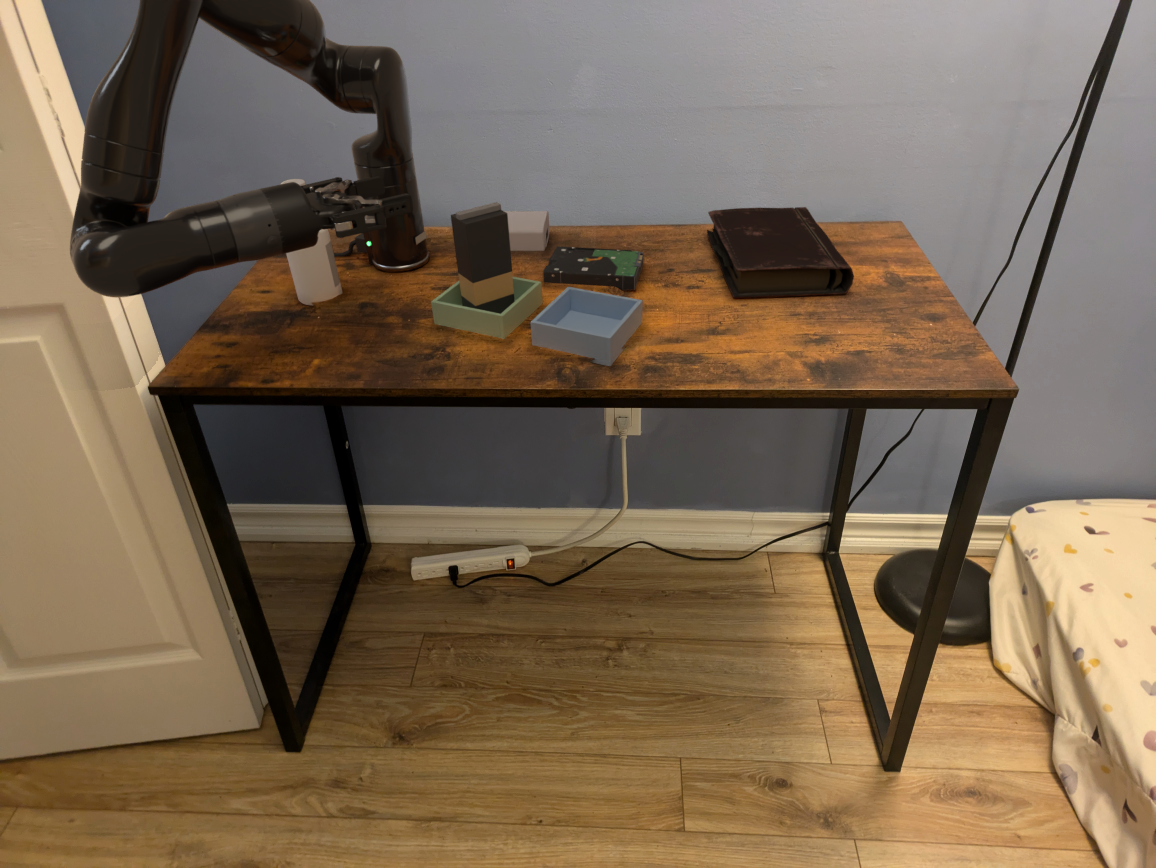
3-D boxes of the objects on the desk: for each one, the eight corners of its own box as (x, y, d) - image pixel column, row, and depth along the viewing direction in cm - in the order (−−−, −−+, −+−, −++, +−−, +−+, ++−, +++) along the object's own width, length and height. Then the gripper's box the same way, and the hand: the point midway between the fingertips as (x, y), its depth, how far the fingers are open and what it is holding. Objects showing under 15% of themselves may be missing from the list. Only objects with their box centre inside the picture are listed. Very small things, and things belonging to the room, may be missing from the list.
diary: (806, 232, 136) (810, 204, 133) (850, 295, 116) (856, 264, 113) (701, 236, 136) (703, 208, 133) (727, 300, 116) (731, 269, 113)
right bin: (532, 349, 105) (530, 321, 103) (568, 312, 114) (567, 286, 111) (610, 366, 101) (610, 338, 98) (642, 327, 109) (642, 300, 107)
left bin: (434, 328, 111) (430, 301, 108) (476, 294, 119) (473, 269, 117) (504, 343, 107) (502, 316, 104) (543, 307, 115) (541, 281, 113)
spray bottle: (352, 291, 121) (326, 177, 111) (323, 309, 117) (294, 192, 106) (318, 284, 124) (290, 172, 113) (289, 302, 119) (257, 187, 108)
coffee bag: (515, 312, 112) (507, 207, 103) (477, 325, 110) (465, 218, 100) (500, 301, 115) (490, 198, 106) (463, 313, 113) (449, 209, 103)
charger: (468, 234, 139) (550, 234, 138) (458, 254, 132) (544, 255, 131) (465, 209, 137) (548, 208, 135) (455, 228, 129) (543, 228, 128)
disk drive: (543, 288, 121) (636, 292, 118) (542, 271, 119) (636, 275, 117) (556, 261, 129) (643, 264, 127) (555, 245, 127) (644, 248, 125)
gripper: (277, 207, 81) (417, 176, 88) (240, 175, 91) (369, 149, 98) (294, 273, 86) (426, 238, 93) (257, 235, 95) (379, 207, 102)
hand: (396, 193), depth 95 cm, fingers open, 8 cm apart
